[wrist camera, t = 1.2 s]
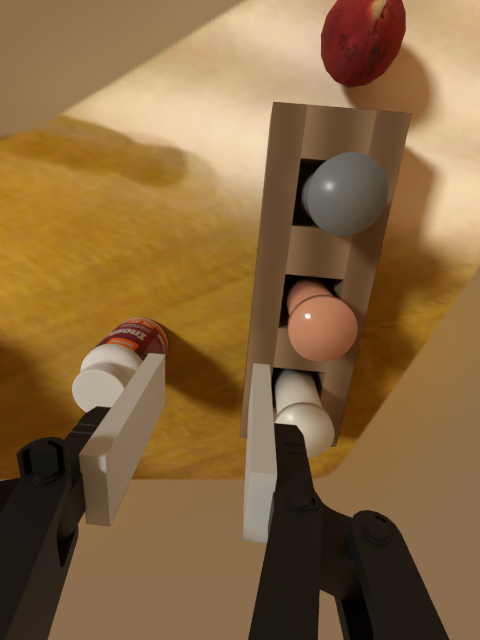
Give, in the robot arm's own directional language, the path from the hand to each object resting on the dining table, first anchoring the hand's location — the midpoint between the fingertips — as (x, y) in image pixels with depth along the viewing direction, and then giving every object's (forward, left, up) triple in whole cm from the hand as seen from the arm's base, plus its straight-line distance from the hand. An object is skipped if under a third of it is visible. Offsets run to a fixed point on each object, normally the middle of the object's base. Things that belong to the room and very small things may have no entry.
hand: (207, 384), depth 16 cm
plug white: (+7, -9, -16) cm, 20 cm away
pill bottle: (-10, -8, -21) cm, 24 cm away
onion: (+8, +20, -21) cm, 30 cm away
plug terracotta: (+7, 0, -16) cm, 18 cm away
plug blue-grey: (+7, +9, -16) cm, 20 cm away
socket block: (+7, 0, -21) cm, 22 cm away
